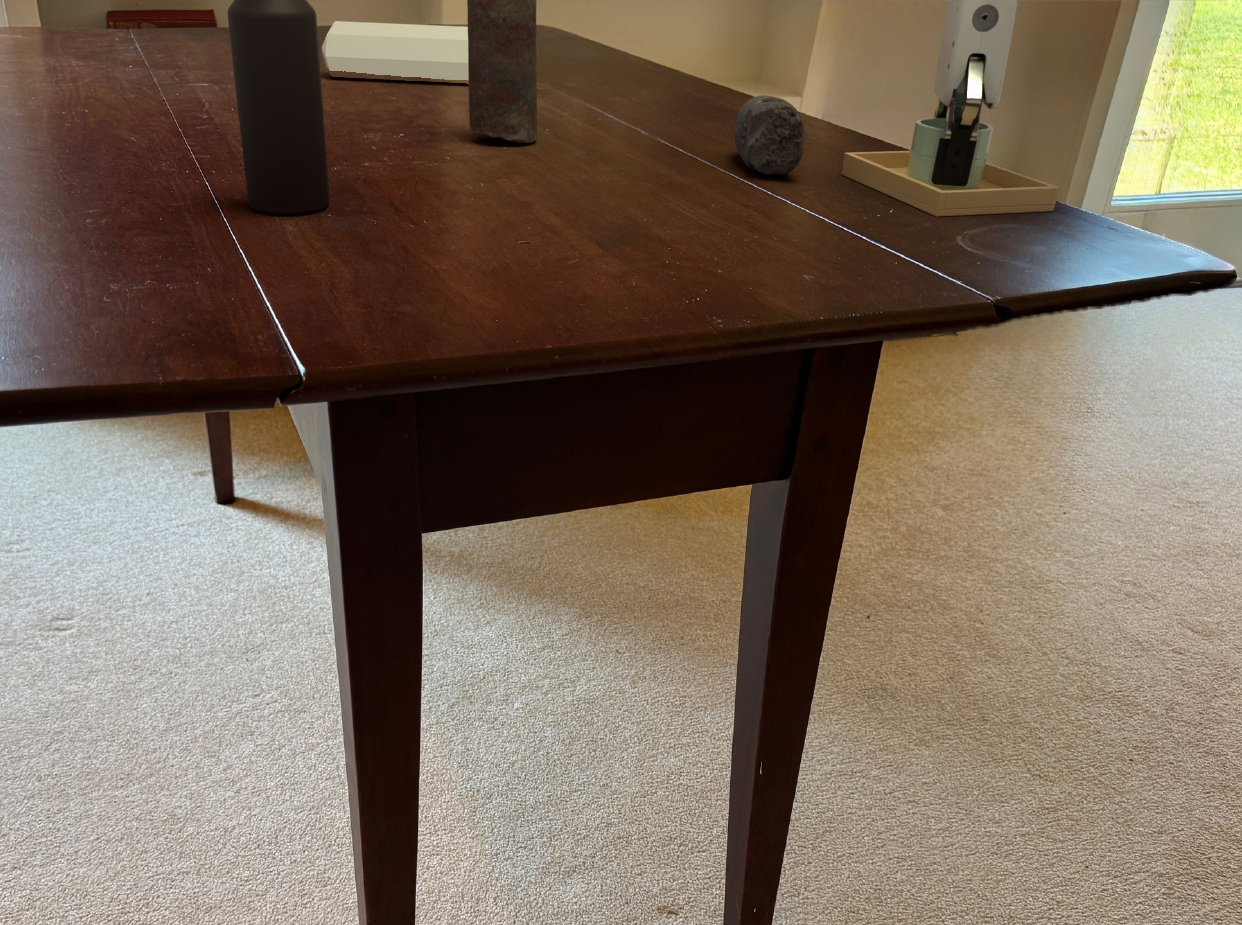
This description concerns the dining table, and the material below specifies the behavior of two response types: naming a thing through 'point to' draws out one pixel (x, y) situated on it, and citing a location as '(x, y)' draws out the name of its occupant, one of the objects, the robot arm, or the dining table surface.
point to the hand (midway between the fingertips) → (944, 174)
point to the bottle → (280, 105)
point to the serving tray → (988, 198)
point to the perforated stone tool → (769, 135)
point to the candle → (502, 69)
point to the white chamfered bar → (398, 50)
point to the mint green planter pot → (926, 150)
